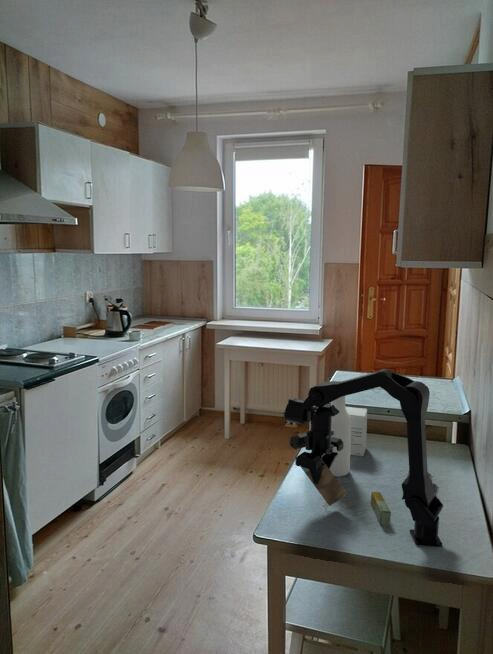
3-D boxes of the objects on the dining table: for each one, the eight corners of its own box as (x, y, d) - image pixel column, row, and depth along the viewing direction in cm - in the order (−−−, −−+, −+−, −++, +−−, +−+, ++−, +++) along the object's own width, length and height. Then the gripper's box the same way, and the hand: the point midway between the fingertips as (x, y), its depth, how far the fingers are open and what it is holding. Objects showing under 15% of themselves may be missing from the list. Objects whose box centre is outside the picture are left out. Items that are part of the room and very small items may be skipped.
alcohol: (334, 463, 173) (336, 377, 168) (355, 472, 167) (358, 383, 162) (316, 470, 167) (319, 382, 163) (338, 480, 161) (341, 388, 156)
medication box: (390, 526, 135) (391, 512, 134) (380, 526, 135) (381, 512, 134) (379, 503, 147) (380, 490, 146) (369, 503, 147) (370, 490, 146)
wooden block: (346, 492, 142) (317, 453, 145) (340, 499, 138) (310, 459, 142) (336, 500, 144) (307, 461, 148) (329, 506, 140) (300, 467, 144)
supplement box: (341, 444, 190) (343, 405, 188) (366, 447, 187) (367, 408, 185) (338, 453, 181) (339, 413, 179) (363, 457, 179) (365, 416, 176)
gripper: (310, 413, 153) (309, 462, 156) (278, 431, 138) (278, 485, 140) (344, 420, 147) (343, 471, 150) (315, 440, 132) (314, 497, 134)
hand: (319, 480), depth 144 cm, fingers closed on wooden block, 4 cm apart
